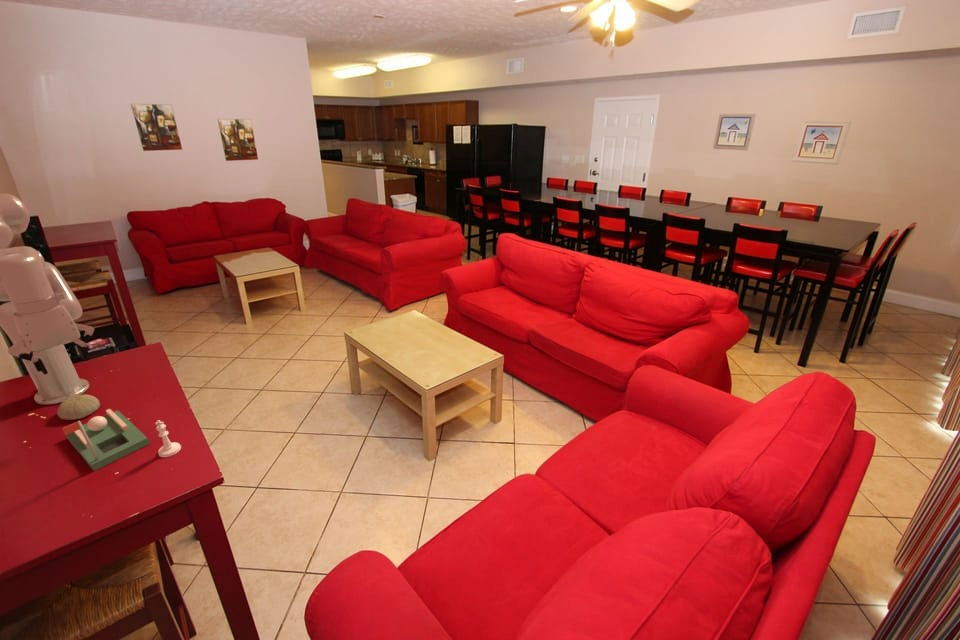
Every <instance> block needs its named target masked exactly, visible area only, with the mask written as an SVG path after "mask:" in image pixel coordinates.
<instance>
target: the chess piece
mask: <svg viewBox="0 0 960 640" xmlns="http://www.w3.org/2000/svg"><path fill="white" fill-rule="evenodd" d="M164 423H165V422H164V421H161V420H160V419H158V420H157V421H156V422H155V423H154V424H155V426H156V425H157V426H156V427H155V430H157V431H158V437H159V438H162V442H163V445H162V446H161V447H160V448H159V449H158V451H157V452H158V454H157V455H158V456H159V457H160V458H168V457H172V456H174V455H177V453H178V452H179V451H181V448H182V445H181V444H180V443H179V442H176V441H175V442H171V440H170V439H169V437H168V435H169V434H170V433H169V431H168V430H166V427H167V425H166V424H164Z"/></svg>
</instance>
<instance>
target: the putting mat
mask: <svg viewBox="0 0 960 640" xmlns="http://www.w3.org/2000/svg"><path fill="white" fill-rule="evenodd" d="M105 412H106V414H105V415H103V416H102V417H104V418H106V420H107V425H106V427H105V428H104V429H102V430H100V431H91V430H90V429H89V428H88V426H87V424H88V422H87V423H84V424H82V422H81V420H78V421H76V422H73V423H71V424H68V425H67V426H64V427H61V430H62V431H63V433H64V435H65V437H66V438H67V440H68V442H70V443H71V445H72V446H73V447H74V449H75V450H76V452H77V453H78V454H79V455H80V456H81V457H82V458H83V459H84V461H85V462H86V464H88V466H89V467H90V468H91V470H92V471H93V472H95V471H98V470H100V469H101V468H103V467H106V466H107V465H110V464H112V463H114V462H116V461H118V460H120V459H122V458H124V457H126V456H128V455H130V454H132V453H134V452H136V451H138V450H141V449H142V448H144V447H146V446H148V445H150V441H149V439H148V437H147V436H146V435H145V434H144V433H143V432H142V431H141V430H139V429H138V427H136V426H135V425H134V424H133V423H132V422H131V421H130V420H129V419H128V418H127V417H126V416H124V415H123V413H121V412H120V411H119V410H116V411H113V410H112V409H111V408H108V409H106V410H105Z"/></svg>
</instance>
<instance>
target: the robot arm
mask: <svg viewBox="0 0 960 640" xmlns="http://www.w3.org/2000/svg"><path fill="white" fill-rule="evenodd" d="M30 219H31V218H30V212H29V209H28V208H27V206H26V205H25V203H24V202H23V201H22V200H21V199H20V198H18V197H17V196H15V195H14V194H13V195H12V194H9V193H0V302H5V303H1V304H0V328H2V330H3V331H4V333H5V334H6V335H7V336H8V338H9V339H10V341H11V343H12V345H11V346H10V347H9V348H8V349H7V351H6V352H7V353H8V354H9V355H10V356H14V357H16V358H19V359H21V360H22V362H23V365H25V368H26V370H27V372H28V374H29V377H30V378H31V379H32V382H33V383H34V385H35V387H36V389H37V392H36V393H35V394H34V397H33V399H34V401H35V402H36V404H39V405H44V406H45V405H47V406H48V405H55V404H59V403H60V404H61V403H62V402H64V401H65V400H66V399H68V398H71V397H73V396H78V395H83V394H84V393H85V392H86V391H87V390H88V389H89V388H90V383H89V381H88V380H87V379H84V378H80V377H79V375H78V372H77V370H76V368H75V366H74V364H73V362H72V360H71V357H70V355H69V353H68V352H67V349H66V347H65V345H66V344H69V343H72V342H73V343H74V344H76V346H75V347H76V348H77V351H78V353H79V355H80V358H81V359H83V360H84V361H85V362H87V361H89V358H88V357H90V353H89V351H88V348H87V346H88V342H90V340H91V338H92V336H93V334H94V331H95V328H94V327H93V326H90V325H87V324H81V323H76V322H75V321H76V320H78V319H79V318H81V317H82V316H83V308H82V306H81V304H80V301H79V300H78V298H77V296H76V295H75V294H74V292H73V291H72V289H71V287H70V286H69V284H68V282H67V281H66V280H65V278H64V277H63V275H62V274H61V272H60V270H58V269H57V266H55V265H54V264H52V263H50V262H48V261H45V258H44V256H43V255H42V254H41V252H40V251H38V250H36V249H35V248H33V247H31V246H27V245H25V246H24V245H23V246H13V247H7V248H5V247H6V246H8V245H9V244H10V243H11V242H12V240H13V237H14V235H18V234H22V233H25V232H26V231H27V229H28V226H29V223H30ZM79 330H80V331H84V333H83V335H82V336H81V332H80V331H79Z"/></svg>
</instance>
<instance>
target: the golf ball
mask: <svg viewBox="0 0 960 640" xmlns="http://www.w3.org/2000/svg"><path fill="white" fill-rule="evenodd" d="M87 423H88V424H87V426H88V428H89V429H90V430H91V431H100V430H102V429H104V428H105V427H106V425H107V420H106V418H104V417H103V416H100V415H95V416H94V417H92V418H90V419H89V420H88V421H87Z"/></svg>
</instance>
